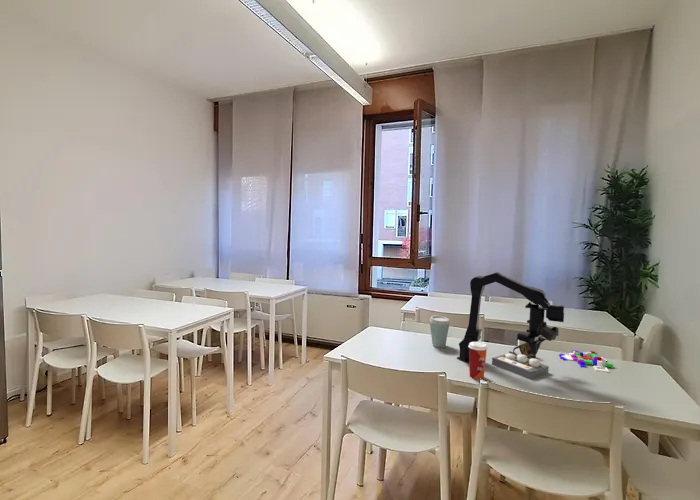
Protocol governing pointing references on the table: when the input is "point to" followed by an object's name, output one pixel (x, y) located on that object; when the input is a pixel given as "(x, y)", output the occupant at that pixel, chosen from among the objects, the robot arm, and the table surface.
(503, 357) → the pattern card
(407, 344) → the table surface
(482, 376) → the paper cup
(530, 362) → the button
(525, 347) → the brown mug
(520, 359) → the button middle
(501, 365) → the button panel
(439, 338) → the disposable coffee cup
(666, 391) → the table surface
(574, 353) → the building block set
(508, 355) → the button
